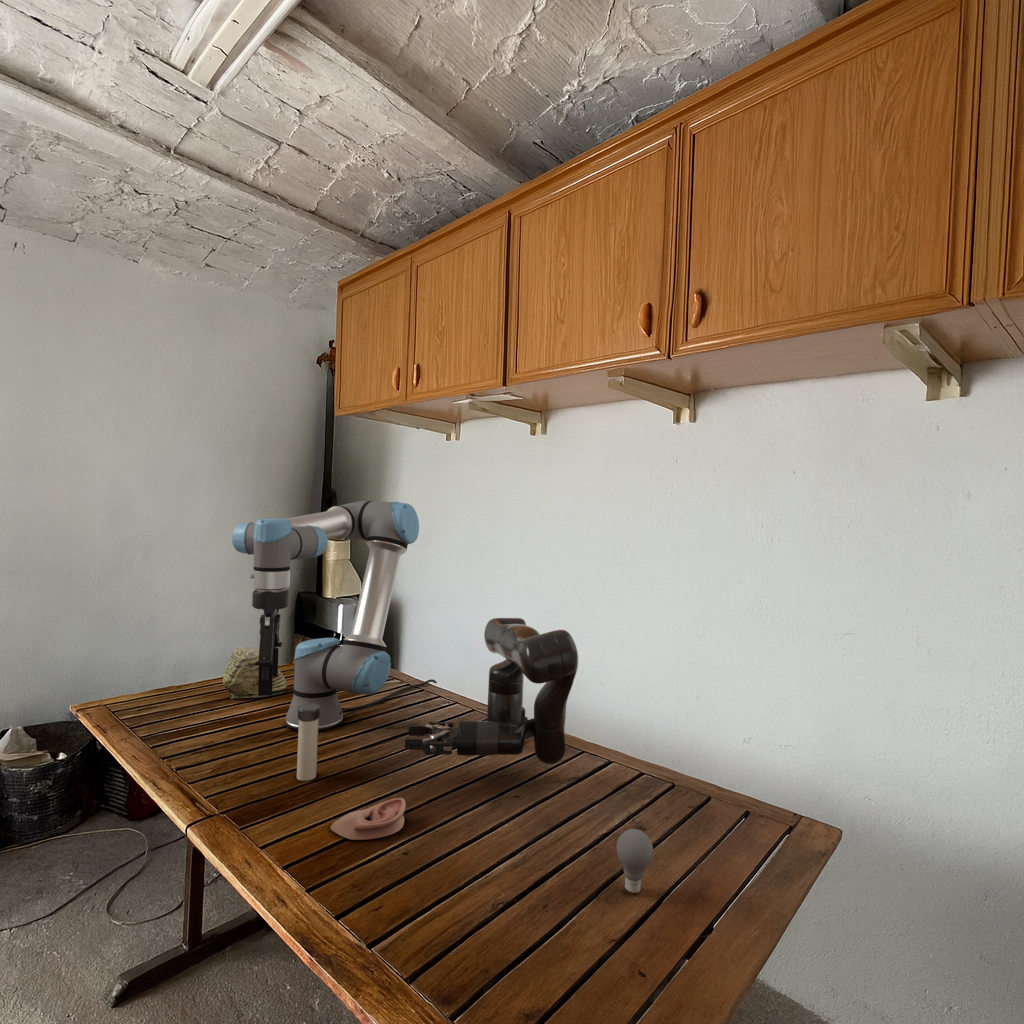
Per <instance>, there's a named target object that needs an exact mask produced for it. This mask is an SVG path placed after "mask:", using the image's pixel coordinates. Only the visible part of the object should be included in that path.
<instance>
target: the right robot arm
mask: <svg viewBox="0 0 1024 1024" xmlns="http://www.w3.org/2000/svg"><path fill="white" fill-rule="evenodd" d="M483 634H484V635H483V637H484V643H485V646H486V648H487V650H488V651H489V652H490V653H492V654H497V655H500V656H501V657H502V658H504V660H502V661H500V662H498V663H495V664H493V665H491V666H490V667H489V669H488V684H487V685H488V686H487V687H488V688H487V710H486V711H487V712H486V720H459V721H458V722H457V727H454V724H455V723H454V722H452V721H451V722H450V721H449V722H448V721H428V723H426V724H425V725H423V724H421V725H419V724H418V725H414V724H413V725H409V726H408V736H409V738H406V739H405V740H404V750H406V751H407V750H408V751H411V750H414V751H416V750H417V751H422V752H424V754H423V755H425V756H432V755H433V756H434V755H436V756H439V755H443V756H444V755H445V756H446V755H447V756H449V755H452V754H453V749H455V748H456V754H457V756H471V757H474V756H475V757H476V756H477V757H479V756H480V757H481V756H483V757H485V756H486V757H487V756H497V755H499V756H516V755H520V754H522V753H523V751H524V747H525V741H526V740H527V739H528V738H531V737H533V745H534V754H535V756H536V758H537V760H539V761H540V762H541V763H543V764H545V765H554V764H557V763H559V762H560V761H562V760H563V758H564V757H565V755H566V751H567V750H566V734H565V725H566V718H567V704H568V699H569V696H570V693H571V690H572V689H573V685H574V682H575V679H576V675H577V672H578V668H579V653H578V647H577V645H576V642H575V640H574V638H573V636H572V635H571V633H570V632H569V631H567V630H566V629H556V630H552V631H547V632H544V633H540V632H539V631H538V630H537V629H535V628H534V627H532V626H529V625H527V623H526V621H525V619H524V618H521V617H494V618H491V619H490V620H489V621H487V623H486V625H485V628H484V633H483ZM525 677H526V679H527V680H528V681H529V682H532V684H533V683H534V684H537V685H538V684H544V685H543V686H542V687H541V688H540V690H539V691H538V693H537V694H536V697H535V699H534V703H533V718H528V717H527V716H526V708H525V707H524V705H523V702H524V678H525ZM410 737H426V738H410Z"/></svg>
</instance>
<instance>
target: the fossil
mask: <svg viewBox="0 0 1024 1024" xmlns="http://www.w3.org/2000/svg"><path fill="white" fill-rule="evenodd" d="M263 659H265V658H263ZM258 660H259V647H258V648H251V647H247V646H246V647H245V646H238V647H237V648H236V649H235V650H233V651H232V653H231V656H230V657H229V659H228V660H227V663H226V666H225V668H224V671H223V675H222V676H223V677H222V685H223V687H224V688H225V690H226V691H228V693H229V698H230V699H250V698H264V697H266V696H258V680H259V666H255V662H257V661H258ZM287 687H288V686H287V680H286V678H285V676H284V674H283V673H282V672H281V669H279V668H278V677H273V684H272V696H275V695H281V694H284V693H285V691H286V689H287Z"/></svg>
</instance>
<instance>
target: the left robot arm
mask: <svg viewBox="0 0 1024 1024" xmlns="http://www.w3.org/2000/svg"><path fill="white" fill-rule="evenodd" d="M419 532H420V520H419V517H418V513H417V511H416V509H415V507H414V506H412V505H411V504H410V503H406V502H400V501H378V500H377V501H375V500H361V501H354V502H350V503H345V504H341V505H334V506H331V507H330V508H328V509H327V510H326V511H322V512H321V511H320V512H315V513H309V514H304V515H303V514H302V515H299V516H293V517H286V518H259V519H257V520H255V522H253V521H249V522H240V523H239V524H237V525H236V526H235V527H234V529H233V531H232V534H231V543H232V546H233V548H234V549H235V551H237V552H238V553H241V554H247V555H250V556H251V555H253V571H252V572H253V573H251V574H250V575H249V578H250V579H253V580H252V588H253V591H252V598H251V599H252V600H251V605H252V608H253V609H256V610H263V614H261V615H260V617H259V626H260V627H259V646H258V648H259V660H258V661H257V662H255V666H259V680H258V696H265V697H271V696H273V695H272V684H273V677H278V669H279V651H280V649H279V648H282V647H283V642H282V641H281V640H280V622H281V614H279V613H280V610H281V609H285V608H288V607H289V605H290V590H288V589H289V588H290V585H291V584H290V583H291V561H292V560H293V561H294V560H301V559H312V558H315V557H320V556H321V555H322V554H324V553H325V551H326V549H327V547H328V539H334V540H343V539H351V540H352V539H353V540H361V541H366V542H365V543H366V546H367V547H368V549H369V553H368V557H367V562H366V567H365V570H364V575H363V580H362V584H361V589H360V592H359V597H358V601H357V606H356V610H355V615H354V619H353V623H352V627H351V632H350V634H349V635H348V636H346V637H345V638H343V642H342V645H340V644H341V642H340V640H339V638H337V637H321V638H313V639H307V640H304V641H302V642H299V643H298V644H297V645H296V647H295V652H294V653H295V654H294V658H293V659H294V670H293V671H294V672H293V695H292V696H293V697H292V699H291V702H290V704H289V708H288V711H287V713H286V715H285V726H286V728H287V729H289V730H291V731H294V732H295V731H296V732H298V725H299V719H298V706H300V705H302V704H308V703H314V704H318V705H320V717H319V722H318V732H325V731H329V730H332V729H335V728H337V727H339V726H340V725H342V723H343V722H344V714H343V711H344V712H345V711H349V712H350V711H355V710H359V709H364V708H367V707H370V706H371V707H372V706H374V705H377V704H379V703H381V702H383V701H385V700H387V699H390V698H391V697H394V696H396V695H397V694H400V693H402V692H405V691H408V690H411V689H415V688H418V687H422V686H425V685H428V684H430V683H434V684H437V683H438V681H436V680H435V679H431V678H430V679H428V680H425V681H423V682H420V683H416V684H413V685H409V686H406V687H404V688H400V689H398V690H396V691H394V692H392V693H390V694H387V695H386V696H383V697H381V698H379V699H377V700H375V701H372V702H368V703H364V704H361V705H357V706H352V707H351V706H350V707H342V706H341V702H340V699H339V695H338V691H340V692H347V693H352V694H356V695H367V696H369V695H375V694H376V693H378V692H379V691H380V690H381V689H382V688H383V687H384V685H385V684H386V682H387V680H388V678H389V676H390V672H391V668H392V663H391V660H392V659H391V656H390V655H389V653H387V652H386V649H387V645H386V643H385V642H384V640H383V637H384V632H385V627H386V624H387V620H388V619H387V618H388V615H389V610H390V606H391V605H390V604H391V600H392V596H393V591H394V587H395V582H396V577H397V571H398V566H399V564H400V563H399V562H400V558H401V556H403V554H405V553H406V552H407V551H408V546H409V545H411V544H414V543H415V542H416V540H417V539H418V537H419ZM263 658H265V659H263Z"/></svg>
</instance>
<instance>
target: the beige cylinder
mask: <svg viewBox="0 0 1024 1024" xmlns="http://www.w3.org/2000/svg"><path fill="white" fill-rule="evenodd" d="M318 722H319V718H318V719H316V720H313V721H302V720H299V725H298V731H297V753H296V755H297V756H296V779H297V780H298V781H301V782H307V781H312V780H313V779H316V778H317V771H318V747H319V746H318V744H319V739H318V738H319V731H318Z"/></svg>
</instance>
